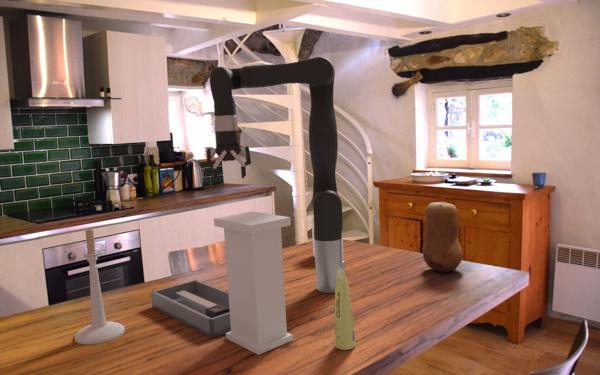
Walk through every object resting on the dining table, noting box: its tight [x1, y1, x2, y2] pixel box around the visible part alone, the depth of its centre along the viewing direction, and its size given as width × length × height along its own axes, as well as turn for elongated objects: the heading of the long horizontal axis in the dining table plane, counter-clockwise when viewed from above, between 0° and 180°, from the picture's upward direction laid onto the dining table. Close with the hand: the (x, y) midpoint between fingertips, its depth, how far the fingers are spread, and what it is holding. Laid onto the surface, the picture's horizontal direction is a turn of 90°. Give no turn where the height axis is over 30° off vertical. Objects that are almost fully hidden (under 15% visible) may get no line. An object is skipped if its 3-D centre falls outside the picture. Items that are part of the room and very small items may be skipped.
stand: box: [213, 210, 294, 356], centre depth 128 cm, size 16×12×32 cm
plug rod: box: [175, 290, 230, 318], centre depth 150 cm, size 25×5×3 cm, turn 41°
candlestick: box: [74, 227, 126, 345], centre depth 137 cm, size 13×13×30 cm
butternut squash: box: [422, 201, 463, 274], centre depth 179 cm, size 14×13×25 cm
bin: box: [150, 279, 231, 339], centre depth 150 cm, size 35×16×5 cm, turn 42°
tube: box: [334, 266, 356, 351], centre depth 122 cm, size 6×5×20 cm
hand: (230, 179), depth 166 cm, fingers open, 8 cm apart
